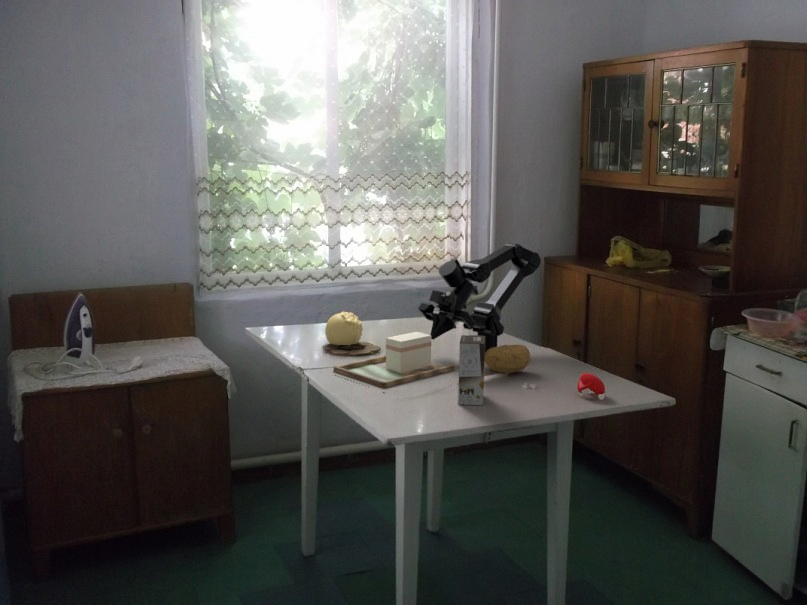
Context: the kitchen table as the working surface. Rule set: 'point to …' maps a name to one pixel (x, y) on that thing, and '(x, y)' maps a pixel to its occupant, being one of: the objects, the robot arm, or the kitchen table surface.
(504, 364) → the potato
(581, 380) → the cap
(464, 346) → the coffee box
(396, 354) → the cream block
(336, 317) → the sculpture
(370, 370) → the tray
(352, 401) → the kitchen table surface
